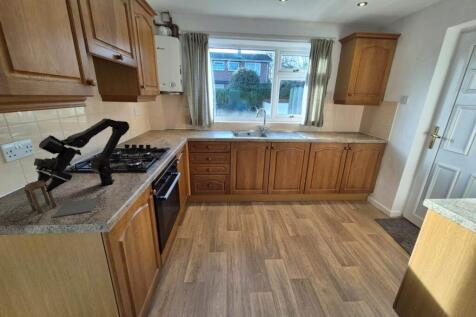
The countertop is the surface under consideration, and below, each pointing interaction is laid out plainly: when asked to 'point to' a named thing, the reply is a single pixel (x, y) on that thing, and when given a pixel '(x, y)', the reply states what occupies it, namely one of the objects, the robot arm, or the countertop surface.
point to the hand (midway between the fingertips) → (41, 189)
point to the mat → (76, 207)
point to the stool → (32, 187)
